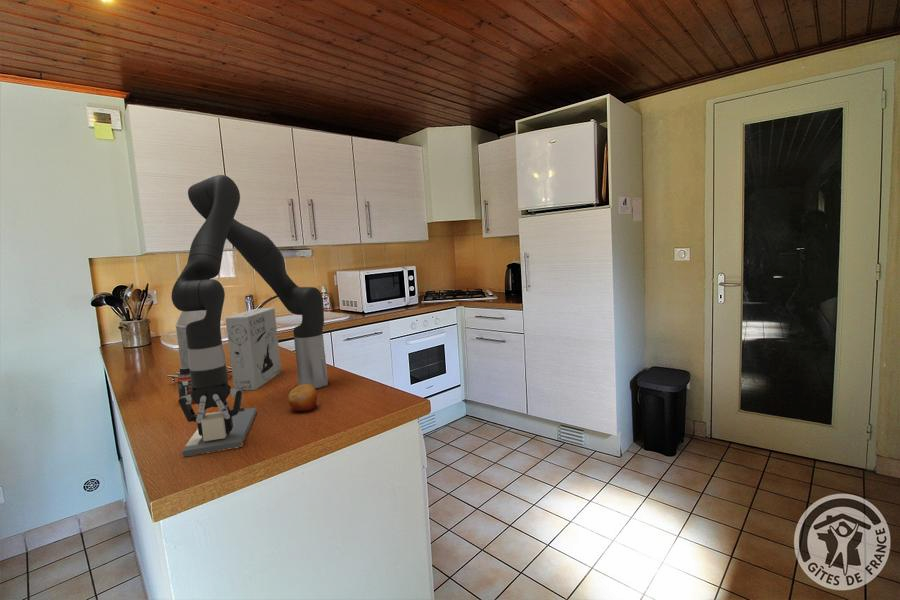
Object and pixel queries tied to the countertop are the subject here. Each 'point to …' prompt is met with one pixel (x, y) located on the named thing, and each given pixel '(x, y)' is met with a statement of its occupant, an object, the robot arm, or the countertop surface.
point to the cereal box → (253, 348)
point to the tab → (213, 426)
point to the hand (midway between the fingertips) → (216, 434)
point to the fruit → (303, 398)
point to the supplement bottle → (184, 382)
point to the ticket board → (230, 441)
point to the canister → (181, 332)
